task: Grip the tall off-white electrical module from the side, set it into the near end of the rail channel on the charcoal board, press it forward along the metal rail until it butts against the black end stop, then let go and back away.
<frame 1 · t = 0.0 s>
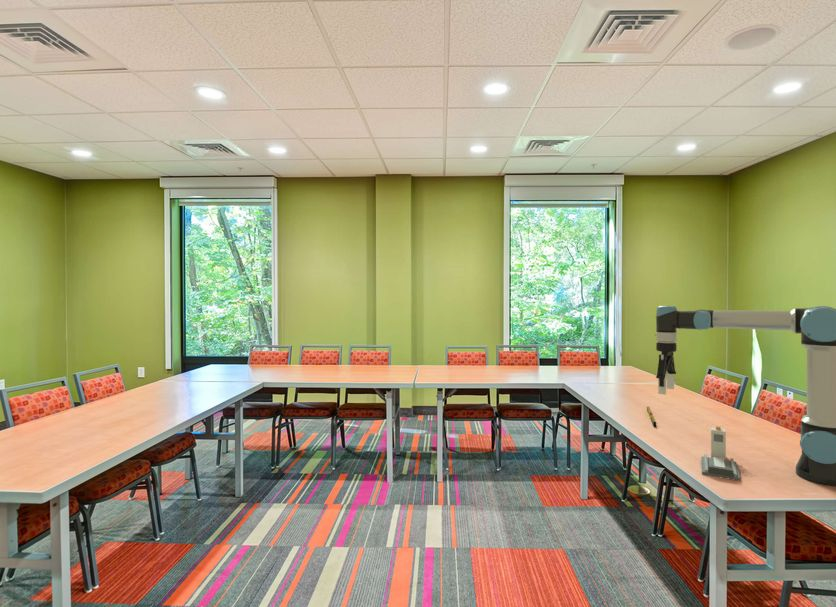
hand: (666, 391, 187), 28 cm above the table, tool pointing down, fingers open, 13 cm apart
rail board: (719, 469, 173), on the table
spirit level: (651, 419, 244), on the table
din module: (718, 457, 185), on the table
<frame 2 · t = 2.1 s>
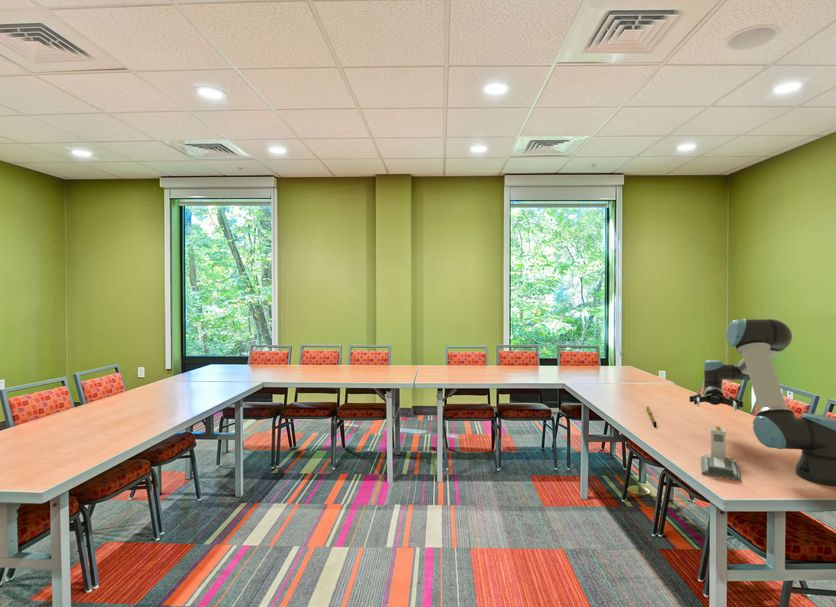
hand: (716, 405, 193), 20 cm above the table, tool horizontal, fingers open, 13 cm apart
nothing on the table moved.
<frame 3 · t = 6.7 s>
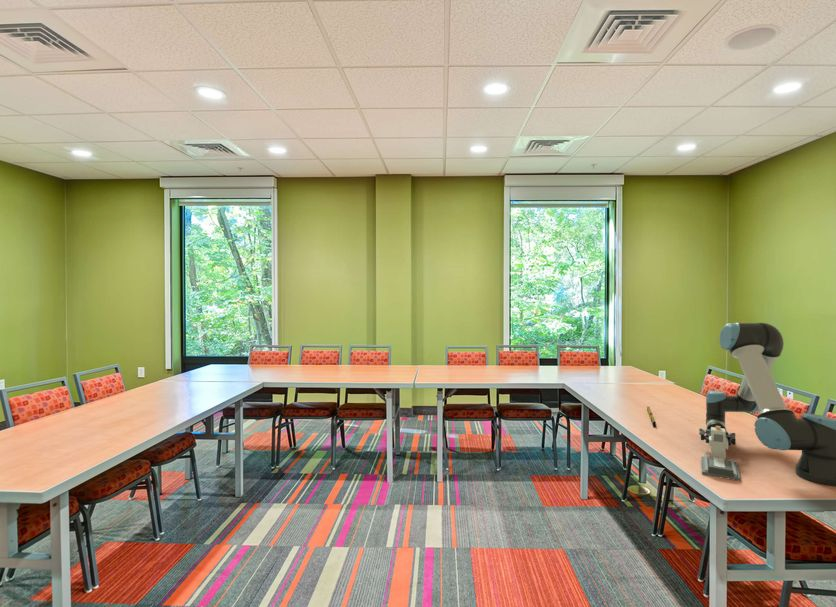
hand: (718, 444, 181), 7 cm above the table, tool horizontal, fingers closed on din module, 5 cm apart
din module: (718, 457, 185), on the table, touching gripper
everything else where it was.
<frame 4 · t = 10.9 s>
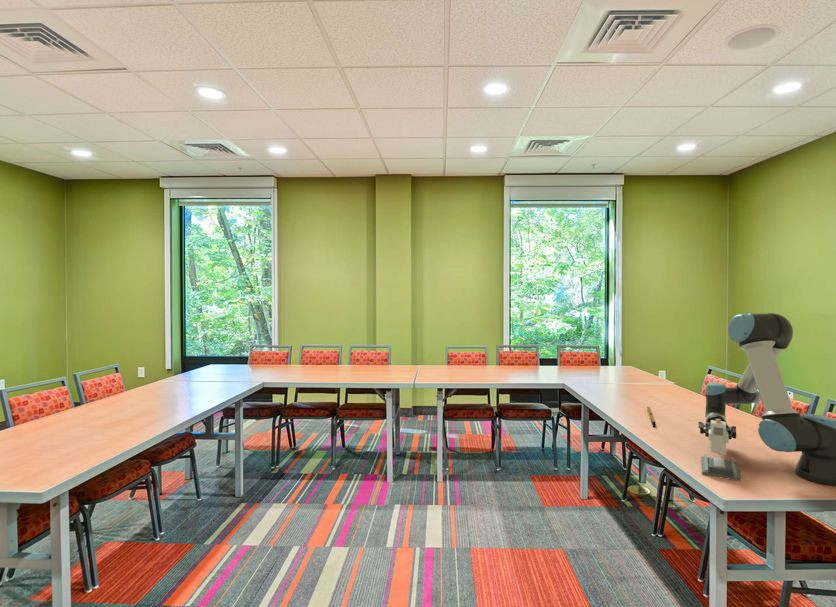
hand: (718, 438, 173), 12 cm above the table, tool horizontal, fingers closed on din module, 5 cm apart
din module: (717, 451, 178), point 5 cm above the table, touching gripper
everything else where it was.
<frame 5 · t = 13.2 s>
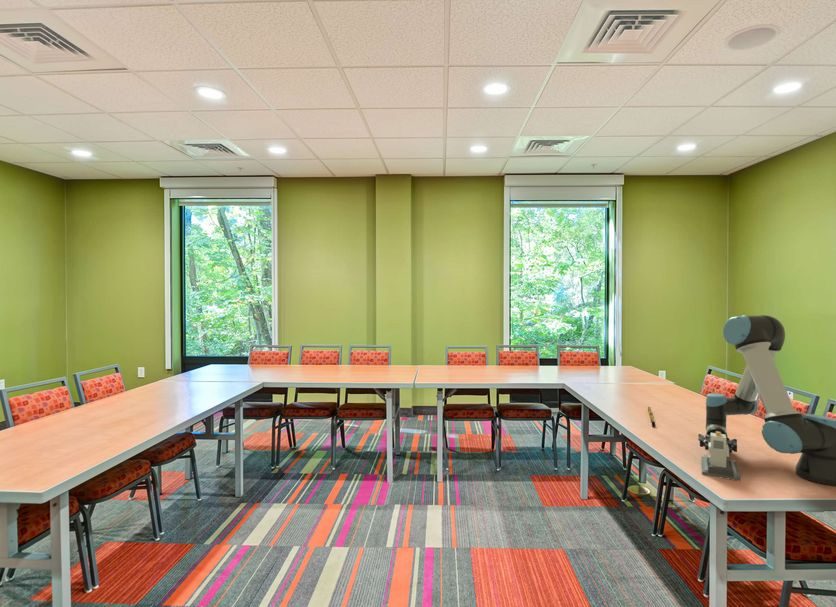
hand: (718, 451, 168), 9 cm above the table, tool horizontal, fingers closed on din module, 5 cm apart
din module: (718, 465, 172), point 2 cm above the table, touching gripper
everything else where it was.
when the fingers open (9 cm above the table, at t = 15.2 s): din module stays where it is, resting on rail board.
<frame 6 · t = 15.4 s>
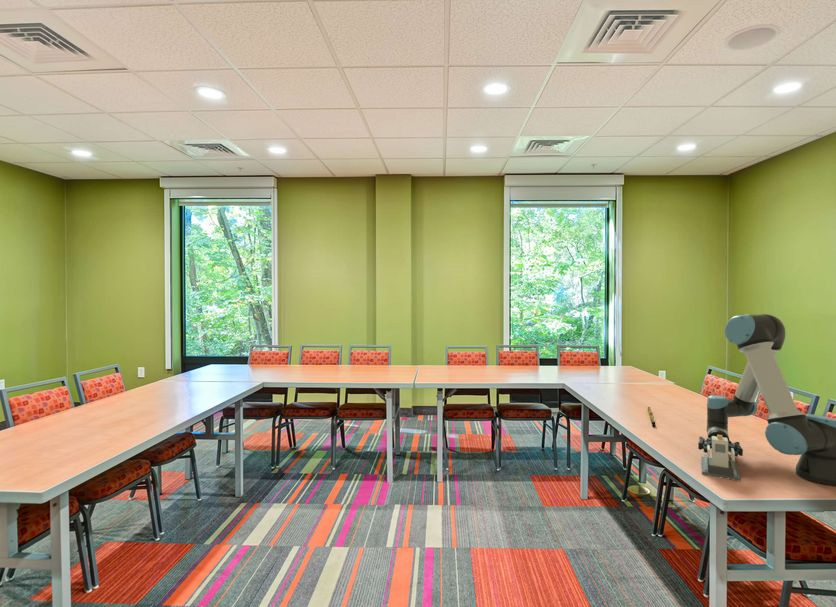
hand: (721, 455, 164), 9 cm above the table, tool horizontal, fingers open, 7 cm apart
din module: (720, 469, 169), point 1 cm above the table, touching rail board
everything else where it was.
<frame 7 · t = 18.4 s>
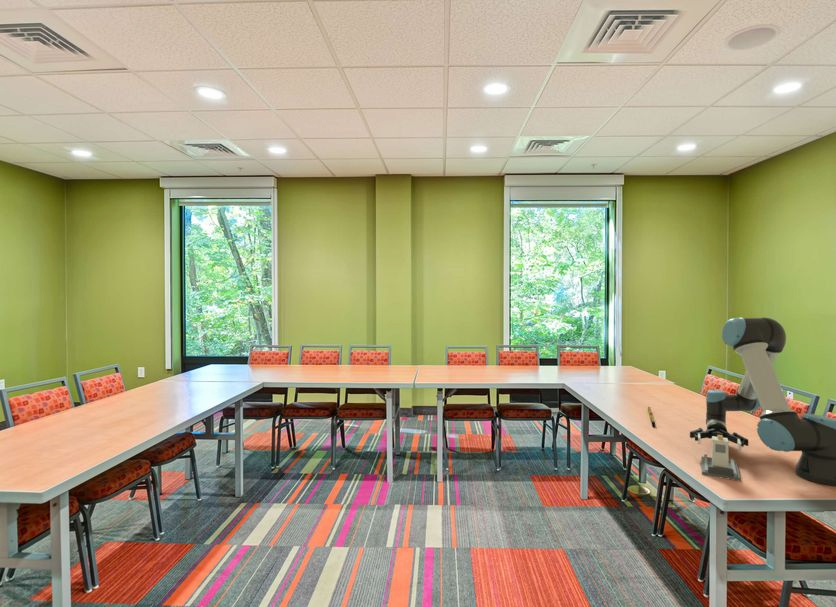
hand: (719, 443, 176), 9 cm above the table, tool horizontal, fingers open, 13 cm apart
nothing on the table moved.
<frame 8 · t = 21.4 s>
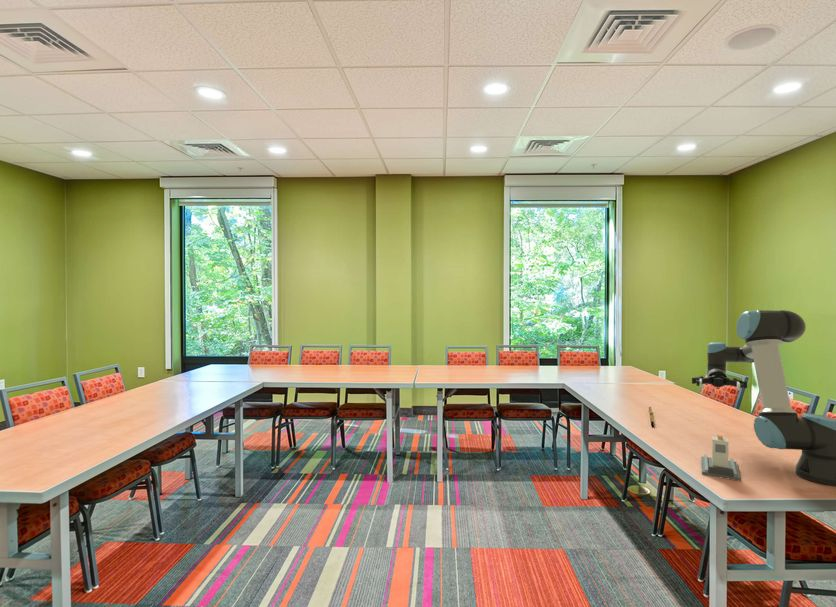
hand: (719, 385, 187), 30 cm above the table, tool horizontal, fingers open, 13 cm apart
nothing on the table moved.
at the end: din module 0.0 cm from the target spot on the rail board, point 1.4 cm above the rail board's base; din module tilted 0°; the gripper is holding nothing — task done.
